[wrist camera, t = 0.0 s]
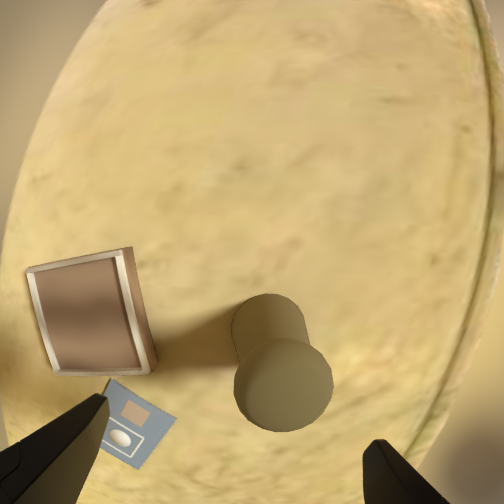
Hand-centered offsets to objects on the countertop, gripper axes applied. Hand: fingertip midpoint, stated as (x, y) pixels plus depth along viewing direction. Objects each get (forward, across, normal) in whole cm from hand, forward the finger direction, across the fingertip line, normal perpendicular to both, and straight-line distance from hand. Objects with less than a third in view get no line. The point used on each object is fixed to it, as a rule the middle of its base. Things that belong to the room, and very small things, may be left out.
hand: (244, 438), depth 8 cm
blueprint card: (+11, +9, +19) cm, 24 cm away
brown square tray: (+14, +12, +7) cm, 20 cm away
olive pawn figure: (+15, -2, +5) cm, 16 cm away
